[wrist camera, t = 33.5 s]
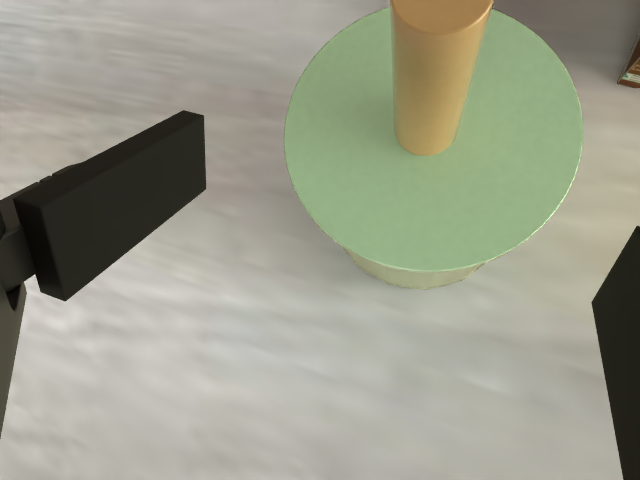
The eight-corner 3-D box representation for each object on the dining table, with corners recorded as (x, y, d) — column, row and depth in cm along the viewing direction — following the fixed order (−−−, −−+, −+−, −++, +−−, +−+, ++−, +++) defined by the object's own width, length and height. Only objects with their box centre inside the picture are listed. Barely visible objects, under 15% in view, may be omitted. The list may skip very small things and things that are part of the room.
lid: (621, 230, 21) (813, 130, 11) (323, 307, 23) (264, 278, 13) (517, -20, 25) (595, -263, 15) (264, 61, 26) (182, -112, 16)
